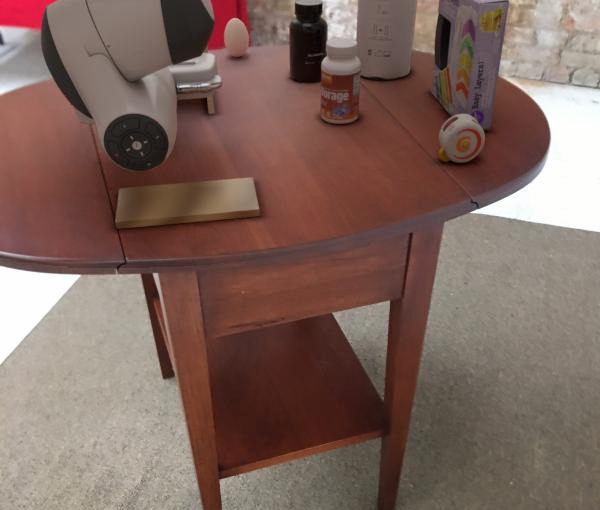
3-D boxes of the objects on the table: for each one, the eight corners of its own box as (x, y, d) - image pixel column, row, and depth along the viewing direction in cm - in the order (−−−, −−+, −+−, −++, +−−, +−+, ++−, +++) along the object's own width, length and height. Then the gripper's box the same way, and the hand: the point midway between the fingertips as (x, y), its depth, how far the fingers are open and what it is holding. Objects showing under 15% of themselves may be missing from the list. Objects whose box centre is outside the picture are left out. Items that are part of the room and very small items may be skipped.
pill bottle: (314, 121, 102) (313, 45, 94) (330, 107, 106) (331, 34, 98) (349, 127, 100) (352, 50, 92) (364, 113, 104) (368, 38, 96)
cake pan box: (426, 90, 111) (440, -30, 98) (454, 88, 111) (471, -32, 98) (459, 135, 97) (480, 2, 85) (491, 132, 98) (516, 0, 85)
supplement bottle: (315, 85, 113) (315, 8, 105) (283, 79, 116) (280, 4, 107) (333, 73, 117) (335, -1, 109) (301, 67, 120) (300, -6, 111)
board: (116, 229, 79) (114, 221, 78) (120, 195, 85) (119, 188, 85) (259, 216, 81) (259, 209, 80) (253, 183, 87) (252, 177, 86)
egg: (253, 53, 126) (251, 15, 122) (244, 61, 123) (241, 22, 118) (231, 51, 128) (228, 13, 123) (221, 59, 124) (218, 20, 120)
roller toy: (484, 164, 90) (492, 123, 86) (440, 167, 90) (446, 126, 85) (475, 151, 93) (482, 110, 89) (432, 153, 93) (438, 113, 89)
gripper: (220, 61, 79) (215, 29, 89) (53, 71, 77) (66, 38, 87) (225, 113, 83) (219, 77, 93) (67, 124, 82) (78, 86, 91)
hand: (144, 58), depth 90 cm, fingers closed on ink box, 5 cm apart
